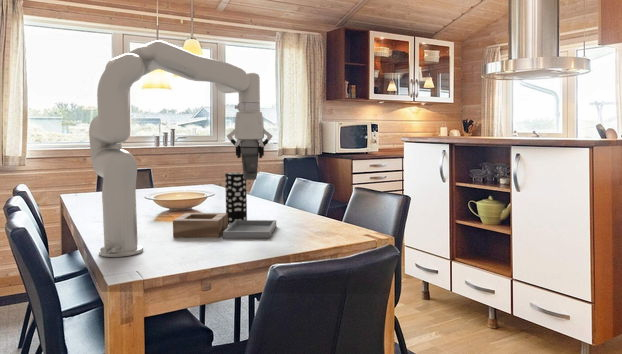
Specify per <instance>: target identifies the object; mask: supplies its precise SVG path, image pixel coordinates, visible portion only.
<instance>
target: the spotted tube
mask: <svg viewBox="0 0 622 354" xmlns="http://www.w3.org/2000/svg"><path fill="white" fill-rule="evenodd" d="M224 178H225V180H224V181H225V182H224V183H225V213H228V225H229V226H230V225H231V224H232V223H233V222H234V221H235V220H248V213H247V212H248V210H247V209H248V201H247V200H248V199H247V180H244V175H243V172H226V173H225V174H224Z"/></svg>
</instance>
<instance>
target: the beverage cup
mask: <svg viewBox="0 0 622 354" xmlns="http://www.w3.org/2000/svg"><path fill="white" fill-rule="evenodd" d="M259 147H260V144H259V142H258V140H242V141H241V143H240V151H241V163H242V164H241V165H242V166H241V167H242V173H243V175H244V180H246V181H247V180H248V181H253V180H254V181H255V180H257V176H258V166H259V165H258V164H259Z"/></svg>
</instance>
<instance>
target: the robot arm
mask: <svg viewBox="0 0 622 354" xmlns="http://www.w3.org/2000/svg"><path fill="white" fill-rule="evenodd" d="M156 70H161V71H165V72H167V73H170V74H173V75H175V76H177V77H181V78H183V79H185V80H190V81H193V82H194V81H195V82H209V83H214V85H215V88H216V89H217V90H218V91H219V92H221V93H224V94H232V93H233V94H238V103H237V104H234V109H236V110H238V111H236V113H235V118H234V119H235V121H234V129H233V130H232V131H231V132H229V133H228V134H227V135H226V137H227V139H228V140H229V141H230V143H231V144H232V145H233V146H234V147H235V156H236V157H237V159H240V158H242V156H241V151H240V143H241V141H242V140H258V142H259V145H260V147H259V155H258V159H263V157H264V156H265V146H266V145H267V144H268V143H269V142H270V140H272V138H273V135H272V134H271V133H270V132H268V130H266V129H265V127H264V125H265V124H264V117H263V112H262V111H261V104H260V103H261V91H260V90H261V84H260V81H261V80H260V76H259V74H258V73H256V72H246V70H244V69H243V68H240V67H238V66H236V65H233V64H231V63H228V62H226V61H223V60H218V59H214V58H211V57H206V56H203V55H200V54H199V55H198V54H196V53H193V52H191V51H189V50H185V49H184V48H181V47H179V46H176V45H173V44H171V43H168V42H166V41H164V40H154V41H151V42H148V43H146V44H143V45H141V46H139V47H137V48H135V49H133V50H131V51H130V50H129V51H128V52H126V53H123V54H121V55H119V56H116V57H114V58H112V59H110V60H108V62H107V63H106V65H105V69H104V71H103V72H102V74H101V75H100V79H99V80H98V84H97V91H96V92H97V93H96V94H97V95H96V97H97V98H96V99H97V115H96V116H94V118H92V119H91V121H90V124H89V127H88V139H89V140H88V141H89V148H90V158H91V165H92V169H93V171H94V172H95V174H97V175H98V176H99V177H101V178H102V188H101V200H102V201H101V202H102V222H103V224H102V225H103V243H104V245H103V246H102V247H101V248H100V249H99V250H98V254H99V256H101V257H105V258H120V257H121V258H123V257H130V256H134V255H135V256H136V255H138V254H141V253H142V252H143V251H144V246H143V245H140V244H139V242H138V217H137V216H138V215H137V194H136V192H137V191H136V190H137V189H136V187H137V177H138V175H137V174H138V163H137V161H136V159H135V157H134V155H133V154H132V153H131V152H130V151H128V150H125V149H123V148H122V147H123V146H122V144H123V143H125V142H127V141H128V140H129V138H130V135H131V121H130V112H129V111H130V110H129V92H130V90H131V88H132V86H133V84H134V83H136V82H138V81H139V80H140V79H141V78H142V77H143V76H145V75H147V74H150V73H151V72H154V71H156ZM233 136H234V137H233ZM265 136H266V138H265ZM264 138H265V140H264V141H263V139H264ZM235 139H236V140H235Z"/></svg>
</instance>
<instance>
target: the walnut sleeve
mask: <svg viewBox="0 0 622 354" xmlns="http://www.w3.org/2000/svg"><path fill="white" fill-rule="evenodd" d="M227 227H229V224H228V213H226V212H185V213H183V214H182V215H179V216H178V217H176V218H174V219H173V220H172V238H194V239H195V238H198V239H199V238H204V239H205V238H206V239H207V238H209V239H210V238H211V239H212V238H213V239H215V238H217V239H218V238H220V237H221V236H223V231H224V230H225V229H226V228H227Z"/></svg>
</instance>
